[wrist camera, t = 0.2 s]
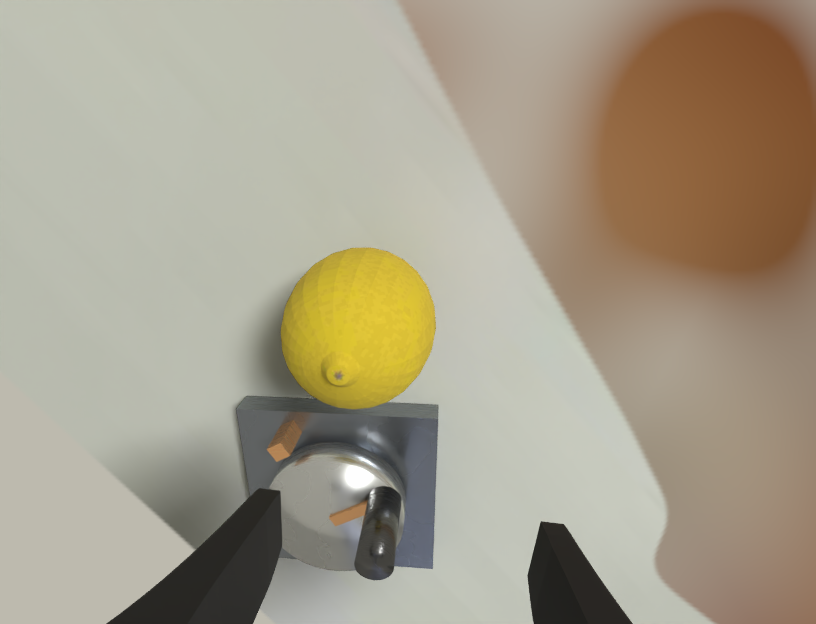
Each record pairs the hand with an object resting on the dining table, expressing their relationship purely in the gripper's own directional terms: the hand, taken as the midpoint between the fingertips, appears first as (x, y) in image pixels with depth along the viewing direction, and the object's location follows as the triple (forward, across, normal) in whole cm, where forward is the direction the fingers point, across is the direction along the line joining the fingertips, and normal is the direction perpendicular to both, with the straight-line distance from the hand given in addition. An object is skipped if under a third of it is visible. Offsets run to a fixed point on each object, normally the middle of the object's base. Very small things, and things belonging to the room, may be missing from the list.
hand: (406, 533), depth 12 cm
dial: (+8, +4, +7) cm, 12 cm away
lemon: (+10, +2, -4) cm, 11 cm away
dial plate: (+10, +4, +7) cm, 13 cm away
